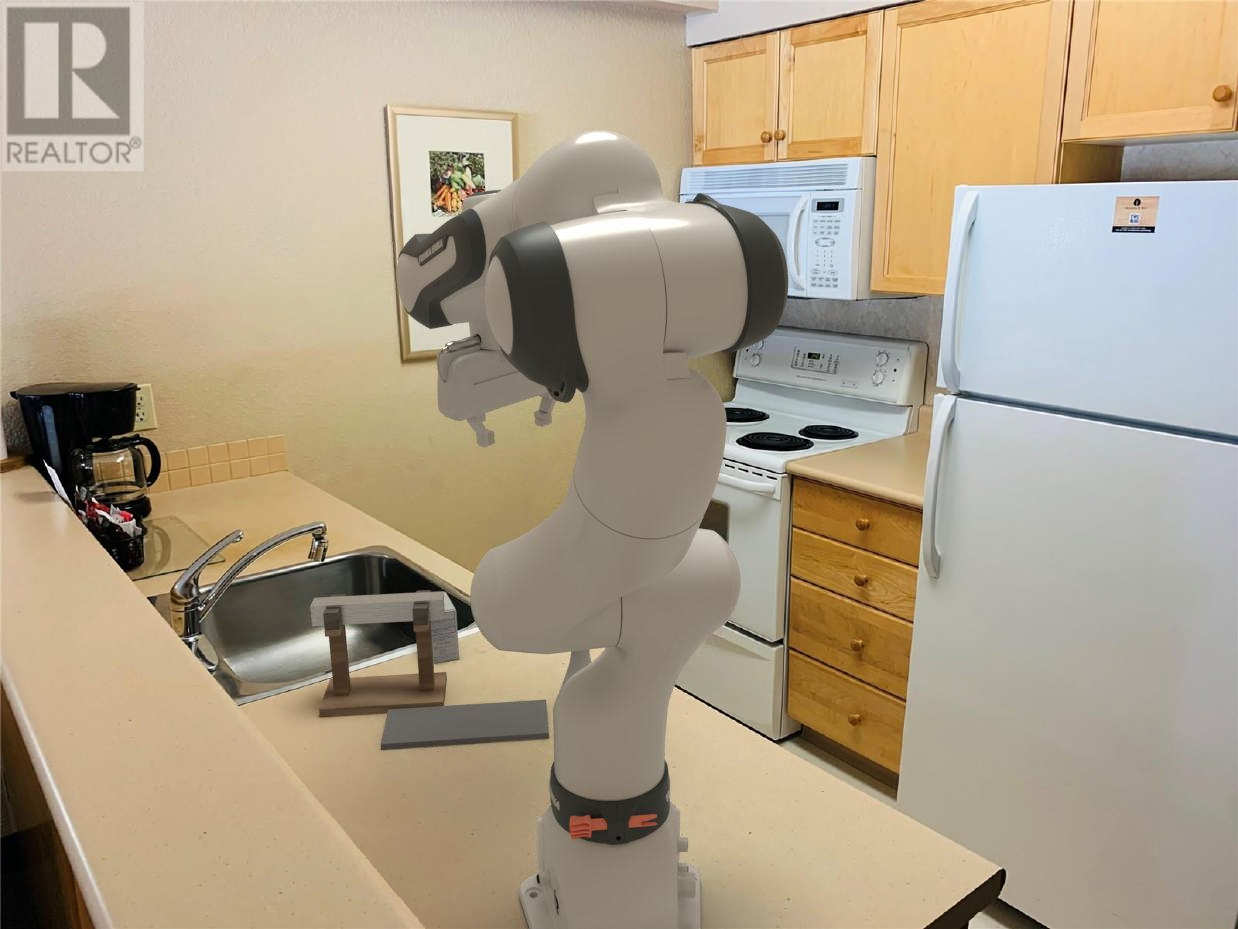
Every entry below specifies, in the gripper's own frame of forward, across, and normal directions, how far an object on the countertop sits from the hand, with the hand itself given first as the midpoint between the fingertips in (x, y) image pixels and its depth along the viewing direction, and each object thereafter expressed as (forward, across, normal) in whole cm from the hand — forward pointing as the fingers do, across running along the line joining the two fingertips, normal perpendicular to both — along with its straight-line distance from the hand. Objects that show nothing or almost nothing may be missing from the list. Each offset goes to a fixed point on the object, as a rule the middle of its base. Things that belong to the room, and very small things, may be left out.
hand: (515, 434), depth 121 cm
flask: (+42, +5, -4) cm, 42 cm away
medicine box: (+43, 0, +24) cm, 49 cm away
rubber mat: (+40, -11, +3) cm, 41 cm away
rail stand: (+40, -14, +18) cm, 46 cm away
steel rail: (+28, -13, +18) cm, 36 cm away
